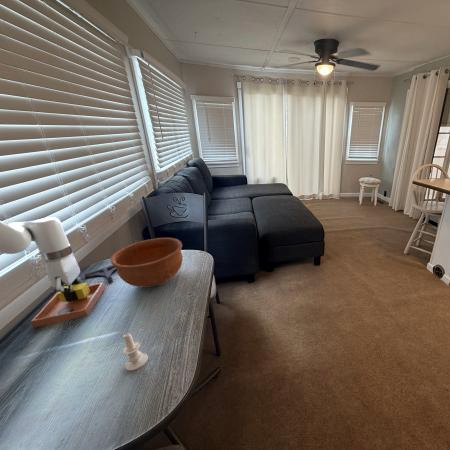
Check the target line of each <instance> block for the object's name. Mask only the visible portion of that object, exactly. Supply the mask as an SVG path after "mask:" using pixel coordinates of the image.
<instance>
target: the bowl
mask: <svg viewBox="0 0 450 450" xmlns="http://www.w3.org/2000/svg"><path fill="white" fill-rule="evenodd" d="M182 248H183V243H182V240H179V239H178V238H173V237H156V238H150V239H145V240H141V241H138V242H134V243H132V244H129V245H127V246H125V247H123V248H121V249H119V250H117V251H116V252H115V253H113V255H112V256H111V257H110V259H109V262H110V263H111V266H112V265H114V266H115V267H116V273H117V276H118V277H119V278H120V279H121V281H123V282H125V283H126V284H128V285H130V286H132V287H133V286H134V287H137V288H149V287H159V286H161V285H163V284H165V283H166V282H167V281H169V280H170V279H172V277H174V276H175V275H176V274H178V272H179V270H181V267H182V264H183V263H182V262H183V253H182Z"/></svg>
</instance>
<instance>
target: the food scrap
mask: <svg viewBox="0 0 450 450" xmlns="http://www.w3.org/2000/svg"><path fill="white" fill-rule="evenodd" d="M72 311H75V310H74V308H73V307H66V308H63V309H61V310H60V311H59V312H58V314H63V313H68V312H72Z"/></svg>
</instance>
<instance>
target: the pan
mask: <svg viewBox="0 0 450 450" xmlns="http://www.w3.org/2000/svg"><path fill="white" fill-rule="evenodd" d="M88 287H89V289H90V292H89V293H88V295H87V296H86V298H82V299H78V300H75V301H70V302H63V303H62V302H61V300H60V298H59V296H58V292H57V291H56V293H55V294H54V295H53V297H51V299H50V300H49V301H48V302H47V303H46V304H45V305H44V306H43V307H42V308H41V309H40V310H39V312H38V313H36V315H35V316H34V317H33V318H32V319H31V320H30V323H31V324H32V326H33V328H39V327H43V326H48V325H51V324H57V323H61V322H65V321H69V320H74V319H78V318H83V317H87V316H89V315H90V313H91V311H92V309H93V308H94V306H95V305H96V303H97V301H98V300H99V298H100V297H101V296H102V293H103V292H104V290H105V289H106V287H105V283H104V282H99V283H94V284H88ZM66 307H73V308H74V310H75V311H72V312H68V313H63V314H58V312H59V311H60V310H61V309H63V308H66Z"/></svg>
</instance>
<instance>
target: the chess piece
mask: <svg viewBox="0 0 450 450" xmlns="http://www.w3.org/2000/svg"><path fill="white" fill-rule="evenodd" d="M122 337H123V340H124V342H125V346H124V348H123V349H122V354H123V355H128V356H127V358H126V360H127V361H126V362H125V364H124V368H125V371H127V372H135V371H137V370H139V369H141V368H143V366H145V365H146V364H147V362H148V359H149V357H148V354H147V353H145V352H141V351H140V350H139V349H140V347H141V342H139V341H134V339H133V336H132V335H131V333H129V332H126V333H124V335H123V336H122Z"/></svg>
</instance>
